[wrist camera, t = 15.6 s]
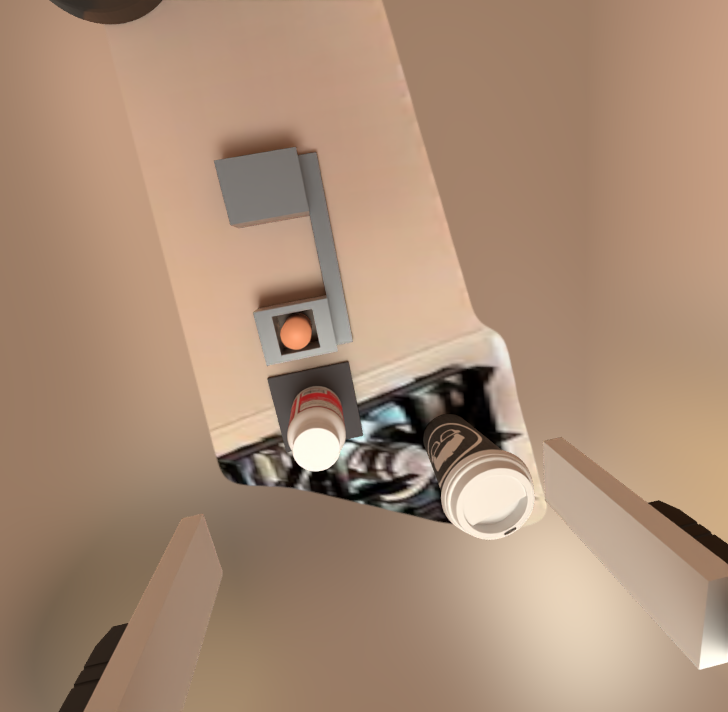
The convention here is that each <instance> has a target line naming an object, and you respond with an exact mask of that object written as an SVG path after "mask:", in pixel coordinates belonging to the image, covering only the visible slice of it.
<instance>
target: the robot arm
mask: <svg viewBox="0 0 728 712" xmlns="http://www.w3.org/2000/svg"><path fill="white" fill-rule="evenodd" d="M50 1H51V2H52V3H54V4H55V5H57V6H58V7H60V8H61V9H63V10H64V11H66V12H68V13H70V14H72V15H74V16H76V17H78V18H81V19H83V20H87V21H90V22H94V23H100V24H121V23H126V22H130V21H133V20H136V19H138V18H140V17H142V16H144V15H146V14H147V13H149V12H150V11H151V10H153V9H154V8H155V7H156V6H157V5H158V4H159V3H160V2H161V1H162V0H50ZM543 456H544V457H543V458H544V485H545V501H546V502H547V503H548V504H549V505H550V507H551V508H552V509H553V510H554V511H555V512H556V513H557V514H558V515H559V516H560V517H561V518H562V520H563V521H564V522H565V523H566V524H567V525H568V526H569V527H570V528H571V530H572V531H573V532H574V533H575V534H576V535H577V536H578V537H579V538H580V540H581V541H582V542H583V543H584V544H585V545H586V546H587V547H588V548H589V549H590V551H591V552H592V553H593V554H594V555H595V556H596V557H597V558H598V559H599V560H600V562H601V563H602V564H603V565H604V566H605V567H606V568H607V569H608V570H609V571H610V573H612V575H613V576H614V577H615V578H616V579H617V580H618V581H619V582H620V584H621V585H622V586H623V587H624V588H625V589H626V590H627V591H628V592H629V593H630V595H632V597H633V598H634V599H635V600H636V601H637V602H638V603H639V604H640V605H641V607H642V608H643V609H644V610H645V611H646V612H647V613H648V614H649V615H650V616H651V618H652V619H653V620H654V621H655V622H656V623H657V624H658V625H659V626H660V628H661V629H662V630H663V631H664V632H665V633H666V634H667V635H668V636H669V637H670V638H671V639H672V641H673V642H674V643H675V644H676V645H677V646H678V647H679V648H680V650H682V652H683V653H684V654H685V655H686V656H687V657H688V658H689V659H690V660H691V662H692V663H693V664H694V665H695V666H696V667H697V668H698V669H699V670H700V669H704V668H708V667H711V666H715V665H719V664H723V663H726V662H728V544H727V543H726V542H724V541H723V540H721V539H720V538H718V537H717V536H716V535H712V534H711V532H710V531H709V530H707V529H706V528H705V527H703V526H702V525H700V524H699V525H698V524H697V522H696V521H695V520H693V519H692V518H691V517H689V516H688V515H687V514H685V513H684V512H682V511H681V510H680V509H677V508H675V507H673V506H670V505H668V504H666V503H663V502H661V501H659V500H658V501H654V502H650V503H647V502H646V501H644V500H643V499H642V498H640V497H639V496H638V495H637V494H635V493H634V492H633V491H631V490H630V489H629V488H627V487H626V486H625V485H624V484H622V483H621V482H619V481H618V480H617V479H615V478H614V477H613V476H612V475H610V474H609V473H608V472H607V471H605V470H604V469H602V468H601V467H600V466H599V465H597V464H596V463H595V462H593V461H592V460H591V459H589V458H588V457H587V456H586V455H584V454H583V453H582V452H580V451H579V450H578V449H576V448H575V447H574V446H572V445H571V444H570V443H569V442H567V441H566V440H564V439H563V438H562V437H560V438H555V439H550V440H545V441H543ZM222 575H223V571H222V569H221V566H220V563H219V560H218V557H217V554H216V551H215V548H214V545H213V542H212V539H211V536H210V533H209V530H208V527H207V524H206V521H205V518H204V515H203V514H199V515H195V516H190V517H185V518H182V519H181V521H180V523H179V525H178V527H177V529H176V531H175V533H174V535H173V537H172V539H171V541H170V543H169V545H168V547H167V549H166V551H165V552H164V554H163V556H162V558H161V560H160V562H159V564H158V566H157V568H156V570H155V572H154V574H153V576H152V578H151V580H150V582H149V584H148V586H147V588H146V590H145V592H144V594H143V596H142V598H141V600H140V602H139V604H138V606H137V608H136V610H135V612H134V613H133V616H132V617H131V619H130V621H129V623H127V624H122V625H118V626H114V627H112V628H111V630H110V631H109V632H108V633H107V634H106V635H105V636H104V637H103V639H101V641H100V642H99V643H98V644H97V645H96V646H95V648H94V650H93V652H92V653H91V655H90V657H89V659H88V661H87V662H86V664H85V666H84V670H83V671H81V673H80V675H79V677H78V678H77V680H76V682H75V684H74V688H73V689H71V691H70V693H69V694H68V696H67V698H66V700H65V701H64V703H63V705H62V707H61V709H60V711H59V712H182V710H183V707H184V704H185V700H186V697H187V694H188V690H189V686H190V683H191V680H192V677H193V673H194V670H195V666H196V663H197V660H198V656H199V653H200V649H201V646H202V642H203V639H204V635H205V632H206V629H207V626H208V622H209V619H210V615H211V612H212V608H213V605H214V602H215V598H216V595H217V592H218V588H219V585H220V582H221V578H222Z"/></svg>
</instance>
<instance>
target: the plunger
mask: <svg viewBox="0 0 728 712" xmlns="http://www.w3.org/2000/svg"><path fill="white" fill-rule="evenodd" d="M311 331H312V324H311V321H310V319H309V318H308V317H307V316H305V315H303V314H299V313H296V314H293V315H291V316H289V317H288V318H287V320H286V321H285V323H284V325H283V327H282V329H281V332H280V336H281V340H282V342H283V343H284V345H285V346H287V347H288V348H290V349H295V350H297V349H302V348H304V347H305V346H306V345H307V344H308V343H309V341H310V339H311Z"/></svg>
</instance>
